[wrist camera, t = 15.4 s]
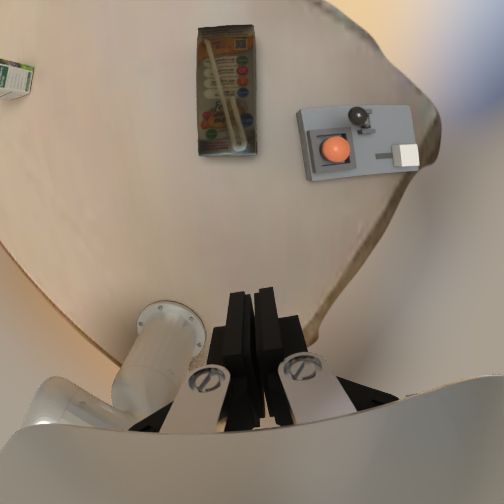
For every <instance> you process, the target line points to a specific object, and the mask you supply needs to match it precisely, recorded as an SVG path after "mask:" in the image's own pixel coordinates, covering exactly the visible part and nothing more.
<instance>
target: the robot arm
mask: <svg viewBox="0 0 504 504" xmlns="http://www.w3.org/2000/svg"><path fill="white" fill-rule="evenodd" d="M254 304H255V316H254V311H253V306H252V301H251V296H250V294H247V295H245V292H244V291H242V292H236V293H230V298H229V306H228V313H227V320H226V326H221V327H215V328H214V329H213V333H212V339H211V344H210V349H209V354H208V359H207V364H206V365H204V366H200V367H198V368H196V369H194V370H192V371H191V372H190V370H189V365H190V362H191V359H192V358H194V357H195V356H197V355H198V354H199V353H200V352H201V350H202V348H203V346H204V343H205V338H206V335H205V329H204V326H203V324H202V322H201V320H200V319H199V317H198V316H197V315H196V314H195V313H194V312H193V311H192V310H190V309H189V308H187V307H186V306H184V305H181V304H179V303H175V302H171V301H159V302H155V303H152V304H150V305H149V306H147V307H146V308H145V309H144V310H143V311H142V313H141V314H140V316H139V318H138V321H137V332H138V337H137V339H136V341H135V343H134V344H133V346H132V348H131V350H130V352H129V353H128V355H127V357H126V359H125V361H124V363H123V364H122V366H121V368H120V370H119V372H118V373H117V375H116V377H115V379H114V382H113V386H112V403H113V407H112V406H111V405H109V404H107V403H105V402H104V401H102V400H100V399H98V398H96V397H95V396H93V395H92V394H90V393H88V392H87V391H85V390H84V389H82V388H80V387H79V386H77V385H76V384H74V383H72V382H71V381H69V380H67V379H65V378H62V377H58V376H53V377H50V378H48V379H47V380H45V381H44V382H43V383H42V384H41V386H40V387H39V389H38V390H37V391H36V393H35V395H34V397H33V399H32V401H31V403H30V406H29V408H28V410H27V413H26V415H25V418H24V420H23V423H22V426H21V428H20V430H18V431H17V432H15V434H13V435H12V436H11V438H10V439H9V440H8V441H7V443H6V444H5V445H4V447H3V448H2V450H1V451H0V504H504V375H501V374H492V375H483V376H476V377H471V378H467V379H462V380H459V381H456V382H452V383H449V384H445V385H442V386H440V387H437V388H434V389H431V390H428V391H425V392H423V393H418V394H411V395H406V398H404V399H399V398H397V397H396V396H393V395H391V394H388V393H385V392H382V391H379V390H376V389H372V388H369V387H366V386H363V385H360V384H357V383H354V382H351V381H349V380H346V379H343V378H340V377H337V376H335V374H334V373H333V371H332V369H331V368H330V366H329V364H328V363H327V361H326V360H325V359H324V358H323V357H322V356H320V355H319V354H316V353H311V352H308V350H307V346H306V343H305V339H304V335H303V332H302V328H301V325H300V321H299V318H298V315H295V316H289V317H283V318H278V315H277V309H276V303H275V297H274V291H273V287H268V288H262V289H259V293H254ZM264 392H265V397H266V401H267V406H268V411H269V415H270V417H275V421H276V424H278V425H280V427H273V428H264V429H255V430H252V429H253V428H254V427H260V418H265V402H264Z"/></svg>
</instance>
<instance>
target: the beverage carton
mask: <svg viewBox="0 0 504 504" xmlns="http://www.w3.org/2000/svg"><path fill="white" fill-rule="evenodd" d="M196 82H197V126H198V153H199V156H206V157H208V156H224V155H232V156H244V155H256V154H257V141H256V139H257V135H256V46H255V32H254V26H253V25H226V26H217V27H203V28H198V38H197V70H196Z"/></svg>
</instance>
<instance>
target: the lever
mask: <svg viewBox="0 0 504 504" xmlns="http://www.w3.org/2000/svg"><path fill="white" fill-rule="evenodd" d="M348 119H349V121H350V122H351V123H352V124H354V125H356V126H361V128H371V124H370V118H369V115H367V112H366V111H365V110H364V109H363V108H362V107H359V106H355V107H352V108H351V109H350V110H349V112H348Z"/></svg>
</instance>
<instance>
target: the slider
mask: <svg viewBox="0 0 504 504" xmlns="http://www.w3.org/2000/svg"><path fill="white" fill-rule="evenodd" d="M392 153H393V161H394V166H401V167H403V166H418V165H419V156H418V147H417V144H408V145H392Z"/></svg>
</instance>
